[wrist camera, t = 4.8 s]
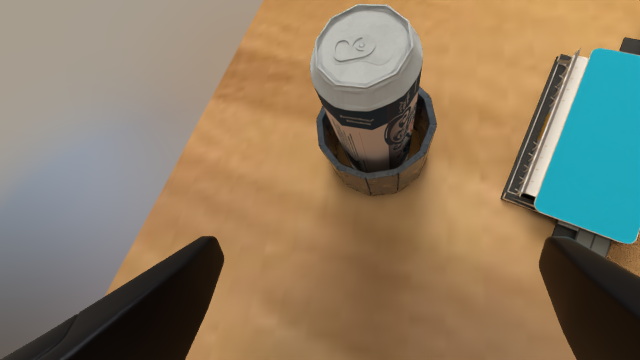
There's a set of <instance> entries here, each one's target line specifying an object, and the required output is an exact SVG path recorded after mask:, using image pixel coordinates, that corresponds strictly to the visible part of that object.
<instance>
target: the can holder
mask: <svg viewBox="0 0 640 360" xmlns="http://www.w3.org/2000/svg"><path fill="white" fill-rule="evenodd" d="M316 122H317V132H318V142H319V146H320V149H321V150H322V152H323V153H324V155H325V156H326V158H327V159H328V161H329V162H330V164H331V165H332V167H333V168H334V170H335V171H336V172H337V174H338V175H339V176H340V177H341V179H342V180H343V181H344V183H345V184H346V185H347V186H348V187H349V188H352V189H354V190H357V191H359V192H362V193H364V194H367V195H370V196H371V195H372V196H377V195H384V194H391V193H397V191H398V192H399V191H400V190H402V189H403V188H404V187H406V186H407V185H408V184H410V183H411V182H412V181H414V180H415V179H416V178H418V176H419V175H420V172H421V169H422V167H423V164H424V162H425V159H426V157H427V154H428V151H429V148H430V145H431V142H432V139H433V136H434V133H435V130H436V125H437V123H436V118H435V114H434V110H433V105H432V101H431V97H430V96H429V95H428V94H427V93H426V92H425V91H424V90H423V89H422V88H421V87H420V86H419V90H418V97H417V104H416V110H415V117H414V124H413V128H414V129H415V130H416V131H417V132H418V136H419V141H420V146H421V148H420V150H419V151H418V152H417V153H416V154H414V155H413V156H412V157H410V158H409V159H408V160H407V161H405V162H404V163H403V164H401V165H400V166H399V167H397V168H396V169H390V170H384V171H378V172H371V173H365V172H362V171H359V170H356V169H354V168H351V167H348V166H345V165H342V164H340V162H339V161H338V158H337V149H336V146H337V144H338V142H339V139H338V137H337V135H336V133H335V131H334V128H333V126H332V124H331V122H330V120H329V118H328V115H327V113H326V111H325V109H324V107H323V106H322V108H321V111H320V113H319V115H318V117H317V121H316Z"/></svg>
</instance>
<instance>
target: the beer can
mask: <svg viewBox="0 0 640 360" xmlns="http://www.w3.org/2000/svg"><path fill="white" fill-rule="evenodd" d="M422 63H423V49H422V45H421V42H420V39H419V36H418V34H417V33H416V31H415V30H414V29H413V28H412V26H411V25H410V24H409V20H407V19H406V18H405V17H403V16H402V15H401V14H399V13H398V12H397V11H395V10H394V9H392V8H391V7H390V6H388V5H379V4H357V5H355V6H353V7H351V8H349V9H347V10H345V11H343V12H341V13H339V14H337V15H335V16H333V17H331V18H330V20H329V21H328V23H327V24H326V26H325V27H324V28H323V30H322V31H321V33H320V34H319V36H318V37H317V39H316V40H315V47H314V50H313V53H312V57H311V64H310V72H311V79H312V82H313V85H314V87H315V90H316V92H317V94H318V96H319V98H320V100H321V103H322V105H323V107H324V109H325V111H326V113H327V115H328V118H329V120H330V122H331V124H332V126H333V128H334V131H335V133H336V135H337V137H338V139H339V141H340V144H341V146H342V148H343V150H344V152H345V154H346V157H347V159H348V161H349V162H350V164H351V166H352V167H353V168H354V169H356V170H359V171H362V172H365V173H371V172H378V171H384V170H390V169H396V168H397V167H399V166H400V165H401V164H403V163H404V162H405V161H406V160H407V157H408V155H409V151H410V144H411V137H412V131H413V124H414V117H415V110H416V104H417V97H418V90H419V83H420V76H421V70H422Z"/></svg>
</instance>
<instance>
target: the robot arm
mask: <svg viewBox="0 0 640 360" xmlns="http://www.w3.org/2000/svg"><path fill="white" fill-rule="evenodd" d="M223 264H224V255H223V252H222V250H221V247H220V245H219V243H218V240H217V239H216V238H215V237H213V236H202V237H200V238H198V239H197V240H195V241H193V242H192V243H190V244H189V245H187V246H185V247H184V248H182V249H181V250H179V251H177V252H176V253H174V254H173V255H171V256H169V257H168V258H166V259H165V260H163V261H161V262H160V263H158V264H156V265H155V266H153V267H152V268H150V269H148V270H147V271H145V272H144V273H142V274H140V275H139V276H137V277H136V278H134V279H132V280H131V281H129V282H128V283H126V284H124V285H123V286H121V287H119V288H118V289H116V290H115V291H113V292H111V293H110V294H108V295H107V296H105V297H103V298H102V299H100V300H99V301H97V302H95V303H94V304H92V305H91V306H89V307H87V308H86V309H84V310H83V311H81V312H80V313H79V314H76V315H74V316H73V317H71V318H70V319H68V320H66V321H65V322H63V323H62V324H60V325H58V326H57V327H55V328H53V329H52V330H50V331H48V332H47V333H45V334H43V335H42V336H40V337H39V338H37V339H35V340H33V341H32V342H30V343H28V344H26V345H25V346H23V347H22V348H20V349H18V350H16V351H14V352H13V353H11V354H9V355H7V356H6V357H4V358H2V359H0V360H185V359H186V356H187V354H188V352H189V350H190V348H191V345H192V343H193V341H194V339H195V336H196V334H197V332H198V330H199V328H200V325H201V323H202V321H203V319H204V317H205V314H206V312H207V310H208V307H209V304H210V302H211V299H212V296H213V293H214V290H215V287H216V284H217V281H218V278H219V275H220V272H221V270H222V267H223ZM539 269H540V272H541V275H542V277H543V280H544V283H545V286H546V288H547V291H548V294H549V296H550V299H551V302H552V304H553V307H554V310H555V312H556V315H557V318H558V320H559V323H560V325H561V328H562V330H563V333H564V335H565V337H566V339H567V341H568V343H569V345H570V347H571V349H572V351H573V353H574V355H575V357H576V359H577V360H640V277H639V276H637V275H635V274H634V273H632V272H630V271H628V270H626V269H625V268H623V267H621V266H619V265H618V264H616V263H614V262H612V261H611V260H609V259H607V258H605V257H603V256H602V255H600V254H598V253H596V252H595V251H593V250H591V249H589V248H588V247H586V246H584V245H582V244H580V243H579V242H577V241H575V240H573V239H571V238H569V237H548V238H547V239H546V240H545V242H544V246H543V249H542V253H541V256H540V260H539Z"/></svg>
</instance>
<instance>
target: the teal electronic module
mask: <svg viewBox="0 0 640 360" xmlns="http://www.w3.org/2000/svg"><path fill="white" fill-rule="evenodd" d="M580 49H581V48H580ZM580 49H579V50H578V52H577V51H576V52H577V53H576V52H575V54H574V56H573V57H572V56H570V55H569V54H567V55H569V56H567V55H563V54H561V55H560V56H559V57H558V56H557V57H556V60H555V62H554V65H553V67H552V70H551V73H550V75H549V78H548V80H547V83H546V85H545V88H544V90H543V93H542V95H541V98H540V100H539V103H538V105H537V108H536V110H535V113H534V115H533V118H532V120H531V123H530V125H529V128H528V130H527V133H526V136H525V138H524V141H523V143H522V146H521V148H520V151H519V153H518V156H517V158H516V161H515V163H514V166H513V168H512V171H511V173H510V176H509V178H508V181H507V183H506V186H505V188H504V191H503V194H502V196H501V199H503V200H506V201H508V202H511V203H514V204H516V205H519V206H522V207H524V208H527V209H530V210H532V211H535V212H538V213H540V214H543V215H546V216H548V217H551V218H554V219H556V220H558V221H557V224H556V226H555V229H554V232H553V235H552V237H569V238H571V239H573V240H575V241H577V242H579V243H580V244H582V245H584V246H586V247H588V248H589V249H591V250H593V251H595V252H596V253H598V254H600V255H602V256H603V257H605V258H606V257H607V254H608V251H609V248H610V245H611V242H612V240H614V241H617V242H620V243H623V244H631V243H633V242H635V241H636V240H637V237H638V234H639V230H640V40H637V39H631V38H626V37H625V38H624V40H623V43H622V46H621V48H620V51H615V50H610V49H605V48H597V49H594V50H593V51H592V52H591V53H590V56H589V58H585V57H580V56H578V55H579V52H580ZM520 196H521V197H520ZM522 197H524V198H522ZM525 198H526V199H525ZM528 199H529V200H528ZM531 200H532V201H531Z"/></svg>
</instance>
